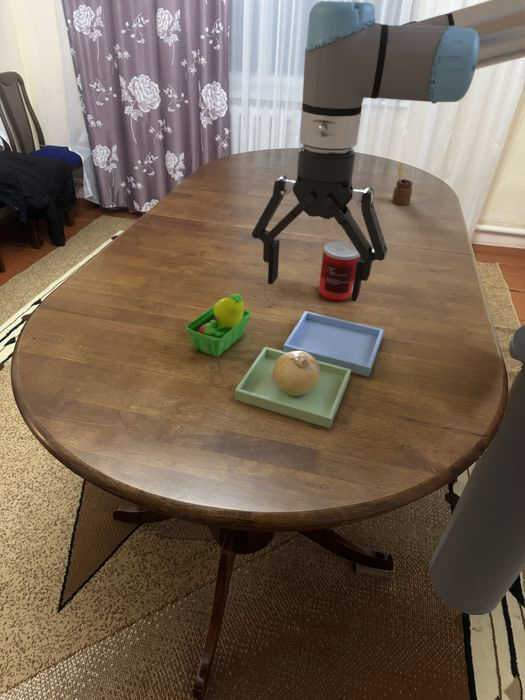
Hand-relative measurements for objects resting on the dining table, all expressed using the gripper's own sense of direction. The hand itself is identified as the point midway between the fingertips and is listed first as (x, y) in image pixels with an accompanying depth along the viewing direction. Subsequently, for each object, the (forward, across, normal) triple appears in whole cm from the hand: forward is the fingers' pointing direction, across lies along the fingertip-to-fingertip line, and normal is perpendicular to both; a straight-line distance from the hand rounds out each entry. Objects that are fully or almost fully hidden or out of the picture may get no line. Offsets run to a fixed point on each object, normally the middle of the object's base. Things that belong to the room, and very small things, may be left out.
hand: (312, 288), depth 74 cm
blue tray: (+16, +3, +9) cm, 19 cm away
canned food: (+17, -1, +29) cm, 34 cm away
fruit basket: (+16, -17, +1) cm, 24 cm away
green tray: (+16, 0, -6) cm, 17 cm away
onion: (+16, 0, -6) cm, 17 cm away
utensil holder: (+17, +4, +100) cm, 101 cm away
